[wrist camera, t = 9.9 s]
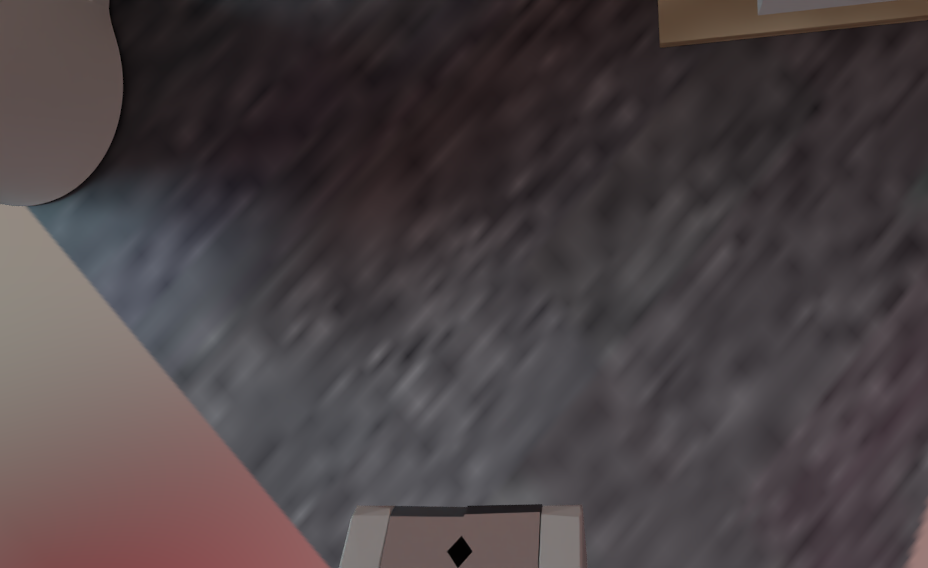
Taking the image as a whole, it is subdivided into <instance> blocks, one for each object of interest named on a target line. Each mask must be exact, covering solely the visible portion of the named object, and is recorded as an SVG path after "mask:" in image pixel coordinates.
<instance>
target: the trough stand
mask: <svg viewBox="0 0 928 568" xmlns="http://www.w3.org/2000/svg"><path fill="white" fill-rule="evenodd" d="M658 16H659V38H660V48H663V47H673V46H682V45H692V44H701V43H711V42H721V41H730V40H740V39H750V38H759V37H769V36H778V35H788V34H798V33H807V32H817V31H827V30H836V29H846V28H855V27H865V26H875V25H884V24H894V23H903V22H913V21H923V20H928V0H895V1H886V2H877V3H867V4H858V5H849V6H840V7H831V8H822V9H813V10H804V11H794V12H785V13H776V14H767V15H758V6H757V0H658Z"/></svg>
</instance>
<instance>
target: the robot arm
mask: <svg viewBox="0 0 928 568" xmlns="http://www.w3.org/2000/svg"><path fill="white" fill-rule="evenodd" d="M122 97H123V73H122V64H121V58H120V53H119V48H118V44H117V41H116V38H115V34H114V31H113V27H112V24H111V19H110V14H109V0H0V204H5V205H12V206H31V205H38V204H43V203H46V202H50V201H52V200H55V199H57V198H60V197H62V196H64V195H65V194H67V193H69V192H71V191H72V190H73V189H75V188H76V187H78V186H79V185H80V184H81V183H82V182H84V181H85V180H86V179H87V178H88V177H89V176H90V175H91V173H92V172H93V171H94V170H95V169H96V167H97V166H98V165H99V163H100V162H101V160H102V159H103V157H104V156H105V154H106V152H107V150H108V148H109V146H110V144H111V142H112V140H113V137H114V134H115V132H116V128H117V125H118V121H119V117H120V112H121V106H122ZM339 568H587V553H586V541H585V529H584V517H583V508H582V505H555V506H542V504H535V505H485V506H468V507H427V506H357V508H356V510H355V512H354V514H353V515H352V517H351V520H350V524H349V529H348V533H347V537H346V541H345V545H344V549H343V554H342V558H341V562H340V566H339Z"/></svg>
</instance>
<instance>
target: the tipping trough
mask: <svg viewBox="0 0 928 568" xmlns="http://www.w3.org/2000/svg"><path fill="white" fill-rule="evenodd" d="M886 1H895V0H757V6H758V15H767V14H776V13H785V12H794V11H804V10H813V9H822V8H831V7H840V6H849V5H858V4H867V3H877V2H886Z"/></svg>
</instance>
